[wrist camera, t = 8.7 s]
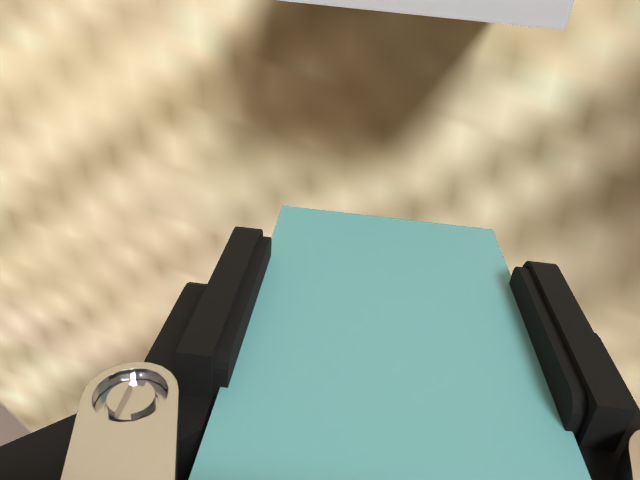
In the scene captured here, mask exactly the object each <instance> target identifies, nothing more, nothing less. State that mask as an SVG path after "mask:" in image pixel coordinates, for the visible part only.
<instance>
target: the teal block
mask: <svg viewBox="0 0 640 480" xmlns="http://www.w3.org/2000/svg"><path fill="white" fill-rule="evenodd" d="M271 239H272V246H271V257H270V260H269V263H268V266H267V270H266V273H265V276H264V279H263V282H262V285H261V288H260V291H259V294H258V297H257V300H256V303H255V306H254V309H253V312H252V316H251V319H250V322H249V325H248V328H247V331H246V334H245V337H244V340H243V343H242V346H241V349H240V352H239V355H238V358H237V362H236V365H235V368H234V371H233V374H232V377H231V380H230V383H229V386H228V388H224V387H220V389H219V392H218V395H217V398H216V401H215V404H214V407H213V410H212V413H211V416H210V419H209V421H208V424H207V427H206V430H205V433H204V436H203V439H202V442H201V445H200V448H199V451H198V453H197V456H196V459H195V462H194V465H193V468H192V471H191V474H190V477H189V480H591V477H590V475H589V472H588V470H587V467H586V465H585V462H584V460H583V457H582V454H581V452H580V449H579V447H578V444H577V442H576V439H575V437H574V434H573V432H571V431H565V429H564V427H563V424H562V421H561V419H560V416H559V414H558V411H557V408H556V406H555V403H554V400H553V398H552V395H551V392H550V390H549V387H548V385H547V382H546V379H545V377H544V374H543V371H542V369H541V366H540V364H539V361H538V358H537V356H536V353H535V350H534V348H533V345H532V342H531V340H530V337H529V335H528V332H527V329H526V327H525V324H524V321H523V319H522V316H521V313H520V311H519V308H518V306H517V303H516V300H515V298H514V295H513V292H512V290H511V287H510V285H509V282H510V279H511V275H510V272H509V270H508V267H507V265H506V262H505V260H504V257H503V255H502V252H501V249H500V247H499V244H498V242H497V239H496V237H495V234H494V232H493V230H491V229H482V228H473V227H465V226H456V225H447V224H438V223H430V222H421V221H412V220H403V219H394V218H386V217H377V216H368V215H359V214H350V213H342V212H333V211H324V210H315V209H307V208H298V207H289V206H282V209H281V212H280V215H279V218H278V221H277V224H276V226H275V229H274V232H273V235H272V238H271Z"/></svg>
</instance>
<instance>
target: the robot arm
mask: <svg viewBox="0 0 640 480" xmlns="http://www.w3.org/2000/svg"><path fill="white" fill-rule="evenodd" d="M271 246H272V239H271V237H263V231H262V229H253V228H245V227H235V228H234V230H233V232H232V234H231V236H230V238H229V241H228V243H227V245H226V247H225V249H224V251H223V253H222V255H221V257H220V259H219V261H218V263H217V266H216V268H215V270H214V272H213V274H212V276H211V278H210V280H209V282H208V284H200V283H192V282H189V283H187V284H186V286H185V287H184V289H183V291H182V292H181V294H180V296H179V298H178V300H177V302H176V304H175V305H174V307H173V309H172V311H171V313H170V315H169V317H168V318H167V320H166V322H165V324H164V326H163V328H162V329H161V331H160V333H159V335H158V337H157V339H156V341H155V342H154V344H153V346H152V348H151V350H150V352H149V353H148V355H147V357H146V359H145V361H144V362H131V363H125V364H120V365H117V366H114V367H112V368H109V369H107V370H105V371H103V372H102V373H100V374H99V375H97V376H96V377H94V378H93V380H92V381H91V382H90V383H89V384H88V385H87V386H86V387H85V390H84V392H83V394H82V396H81V399H80V403H79V407H78V411H77V414H74V415H72V416H70V417H67V418H65V419H63V420H61V421H58V422H56V423H54V424H51V425H49V426H47V427H44V428H42V429H40V430H37V431H35V432H33V433H30V434H28V435H26V436H24V437H21V438H19V439H17V440H14V441H12V442H10V443H8V444H5V445H3V446H0V480H189V477H190V474H191V471H192V468H193V465H194V462H195V459H196V456H197V453H198V451H199V448H200V445H201V442H202V439H203V436H204V433H205V430H206V427H207V424H208V421H209V419H210V416H211V413H212V410H213V407H214V404H215V401H216V398H217V395H218V392H219V389H220V387H224V388H228V386H229V383H230V380H231V377H232V374H233V371H234V368H235V365H236V362H237V358H238V355H239V352H240V349H241V346H242V343H243V340H244V337H245V334H246V331H247V328H248V325H249V322H250V319H251V316H252V312H253V309H254V306H255V303H256V300H257V297H258V294H259V291H260V288H261V285H262V282H263V279H264V276H265V273H266V270H267V266H268V263H269V260H270V257H271ZM509 285H510V287H511V290H512V292H513V295H514V298H515V300H516V303H517V306H518V308H519V311H520V313H521V316H522V319H523V321H524V324H525V327H526V329H527V332H528V335H529V337H530V340H531V342H532V345H533V348H534V350H535V353H536V356H537V358H538V361H539V364H540V366H541V369H542V371H543V374H544V377H545V379H546V382H547V385H548V387H549V390H550V392H551V395H552V398H553V400H554V403H555V406H556V408H557V411H558V414H559V416H560V419H561V421H562V424H563V427H564V429H565V431H571V432H573V434H574V437H575V439H576V442H577V444H578V447H579V449H580V452H581V454H582V457H583V460H584V462H585V465H586V467H587V470H588V472H589V475H590V477H591V480H640V410H639V408H638V406H637V404H636V402H635V401H634V399H633V397H632V395H631V393H630V391H629V390H628V388H627V386H626V384H625V382H624V381H623V379H622V377H621V375H620V373H619V372H618V370H617V368H616V366H615V364H614V362H613V361H612V359H611V357H610V355H609V353H608V352H607V350H606V348H605V346H604V344H603V343H602V341H601V339H600V338H599V336H598V335H597V334H596V333H594V332H593V330H592V328H591V326H590V324H589V323H588V321H587V319H586V317H585V315H584V313H583V312H582V310H581V308H580V306H579V304H578V302H577V301H576V299H575V297H574V295H573V293H572V291H571V290H570V288H569V286H568V284H567V282H566V280H565V278H564V277H563V275H562V273H561V271H560V269H559V267H558V266H557V265H556V264H549V263H541V262H532V261H527V262H525V264H524V265H523V267H515V269H514V270H513V273H512V276H511V279H510V282H509Z"/></svg>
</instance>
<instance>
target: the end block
mask: <svg viewBox="0 0 640 480" xmlns="http://www.w3.org/2000/svg"><path fill="white" fill-rule="evenodd" d="M278 1H288V2H298V3H307V4H317V5H326V6H336V7H346V8H355V9H365V10H374V11H384V12H394V13H403V14H413V15H423V16H432V17H442V18H451V19H461V20H471V21H480V22H490V23H499V24H509V25H519V26H528V27H538V28H548V29H557V30H566V26H567V23H568V19H569V16H570V12H571V9H572V5H573V2H574V0H278Z"/></svg>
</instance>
